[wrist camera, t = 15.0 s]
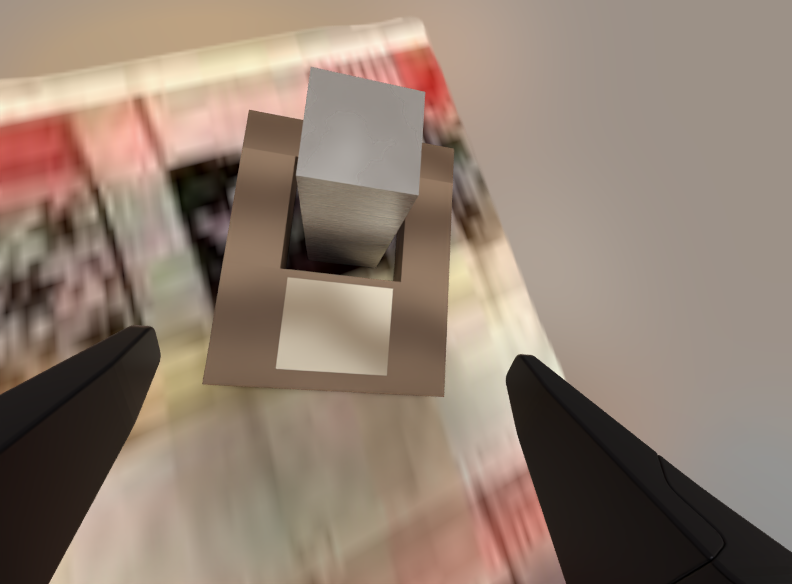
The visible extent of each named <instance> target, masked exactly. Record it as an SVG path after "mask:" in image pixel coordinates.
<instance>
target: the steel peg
mask: <svg viewBox="0 0 792 584" xmlns="http://www.w3.org/2000/svg"><path fill="white" fill-rule="evenodd" d="M424 102H425V92H423V91H418V90H414V89H409V88H405V87H400V86H396V85H391V84H386V83H382V82H377V81H373V80H368V79H364V78H359V77H355V76H350V75H346V74H341V73H337V72H332V71H328V70H323V69H319V68H314V67H311V70H310V77H309V84H308V91H307V99H306V106H305V113H304V120H303V127H302V135H301V142H300V149H299V156H298V164H297V171H296V179H297V186H298V193H299V200H300V207H301V214H302V220H303V227H304V234H305V241H306V248H307V255H308V260H312V261H321V262H329V263H337V264H345V265H354V266H362V267H370V268H376V266H377V265H378V263H379V261H380V260H381V258H382V256H383V255H384V253H385V251H386V250H387V248H388V246H389V244H390V243H391V241H392V239H393V238H394V236H395V234H396V233H397V231H398V229H399V228H400V226H401V224H402V223H403V221H404V219H405V218H406V216H407V214H408V213H409V211H410V209H411V207H412V206H413V204H414V202H415V201H416V199H417V197H418V196H419V182H420V166H421V150H422V134H423V118H424Z"/></svg>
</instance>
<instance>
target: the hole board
mask: <svg viewBox="0 0 792 584" xmlns="http://www.w3.org/2000/svg"><path fill="white" fill-rule="evenodd" d="M302 127H303V120H300V119H295V118H289V117H284V116H279V115H274V114H268V113H263V112H258V111H253V110H249V113H248V119H247V125H246V131H245V137H244V142H243V148H242V154H241V160H240V166H239V172H238V178H237V183H236V189H235V195H234V201H233V207H232V213H231V219H230V225H229V230H228V236H227V242H226V248H225V254H224V260H223V266H222V272H221V277H220V283H219V289H218V295H217V301H216V307H215V313H214V318H213V324H212V330H211V336H210V342H209V348H208V354H207V360H206V365H205V371H204V377H203V383H202V384H207V385H226V386H245V387H264V388H284V389H303V390H322V391H341V392H361V393H380V394H399V395H418V396H438V397H444V387H445V362H446V337H447V312H448V287H449V261H450V236H451V211H452V186H453V161H454V149H452V148H446V147H441V146H436V145H431V144H426V143H422V150H421V166H420V182H419V196H418V197H417V199H416V201H415V202H414V204H413V206H412V207H411V209H410V211H409V213H408V214H407V216H406V218H405V219H404V221H403V223H402V224H401V226H400V228H399V229H398V231H397V240H396V254H395V268H394V281H386V280H377V279H369V278H360V277H351V276H342V275H333V274H324V273H316V272H307V271H298V270H289V269H286V264H287V256H288V249H289V241H290V234H291V226H292V219H293V211H294V204H295V196H296V189H297V179H296V171H297V164H298V156H299V149H300V142H301V135H302Z"/></svg>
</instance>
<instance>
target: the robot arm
mask: <svg viewBox="0 0 792 584" xmlns="http://www.w3.org/2000/svg"><path fill="white" fill-rule="evenodd" d="M160 357H161V353H160V349H159V344H158V340H157V336H156V332H155V330H154V328H152V327H150V326H138V325H132V326H129V327H127V328H125V329H123V330H121V331H120V332H118V333H116V334H114V335H112V336H110V337H108V338H106V339H104V340H103V341H101V342H99V343H97V344H95V345H93V346H91V347H89V348H87V349H86V350H84V351H82V352H80V353H78V354H76V355H74V356H72V357H70V358H69V359H67V360H65V361H63V362H61V363H59V364H57V365H55V366H53V367H52V368H50V369H48V370H46V371H44V372H42V373H40V374H38V375H36V376H35V377H33V378H31V379H29V380H27V381H25V382H23V383H21V384H19V385H18V386H16V387H14V388H12V389H10V390H8V391H6V392H4V393H3V394H1V395H0V584H49V582H50V580H51V579H52V577H53V575H54V573H55V571H56V569H57V567H58V566H59V564H60V562H61V560H62V558H63V556H64V554H65V553H66V551H67V549H68V547H69V545H70V543H71V542H72V540H73V538H74V536H75V534H76V532H77V530H78V529H79V527H80V525H81V523H82V521H83V519H84V517H85V516H86V514H87V512H88V510H89V508H90V506H91V504H92V503H93V501H94V499H95V497H96V495H97V493H98V491H99V490H100V488H101V486H102V484H103V482H104V480H105V479H106V477H107V475H108V473H109V471H110V469H111V467H112V466H113V464H114V462H115V460H116V458H117V456H118V454H119V453H120V451H121V449H122V447H123V445H124V443H125V441H126V440H127V438H128V436H129V434H130V432H131V430H132V428H133V426H134V424H135V422H136V420H137V417H138V415H139V413H140V410H141V408H142V405H143V403H144V400H145V398H146V395H147V392H148V390H149V387H150V385H151V382H152V380H153V377H154V375H155V372H156V370H157V367H158V365H159V362H160ZM506 386H507V390H508V395H509V400H510V404H511V409H512V413H513V418H514V422H515V427H516V431H517V435H518V438H519V442H520V445H521V448H522V451H523V454H524V457H525V460H526V463H527V466H528V469H529V472H530V475H531V478H532V481H533V484H534V487H535V490H536V494H537V497H538V500H539V503H540V506H541V509H542V512H543V515H544V518H545V521H546V524H547V527H548V530H549V533H550V536H551V539H552V542H553V545H554V548H555V551H556V554H557V557H558V560H559V563H560V567H561V570H562V573H563V576H564V579H565V582H566V584H792V552H791V551H789V550H788V549H786V548H785V547H784V546H782V545H781V544H779V543H778V542H777V541H775V540H774V539H772V538H771V537H769V536H768V535H767V534H765V533H764V532H763V531H761V530H760V529H758V528H757V527H756V526H754V525H753V524H751V523H750V522H749V521H747V520H746V519H744V518H743V517H742V516H740V515H738V514H737V513H736V512H734V511H733V510H732V509H730V508H729V507H727V506H726V505H725V504H723V503H722V502H721V501H719V500H718V499H717V498H715V497H714V496H712V495H711V494H710V493H708V492H707V491H706V490H704V489H703V488H701V487H700V486H699V485H697V484H696V483H695V482H694V481H692V480H691V479H690V478H688V477H687V476H686V475H684V474H683V473H682V472H681V471H679V470H678V469H677V468H675V467H674V466H673V465H672V464H670V463H669V462H668V461H666V460H665V459H664V458H663V457H662V456H660V455H657V453H656V452H655V451H654V450H652V449H651V448H650V447H649V446H647V445H646V444H645V443H644V442H642V441H641V440H640V439H639V438H637V437H636V436H635V435H634V434H632V433H631V432H630V431H628V430H627V429H626V428H625V427H623V426H622V425H621V424H620V423H618V422H617V421H616V420H614V419H613V418H612V417H611V416H609V415H608V414H607V413H606V412H604V411H603V410H602V409H600V408H599V407H598V406H597V405H595V404H594V403H593V402H592V401H590V400H589V399H588V398H587V397H585V396H584V395H583V394H582V393H580V392H579V391H578V390H576V389H575V388H574V387H573V386H571V385H570V384H569V383H568V382H566V381H565V380H564V379H563V378H561V377H560V376H559V375H557V374H556V373H555V372H554V371H552V370H551V369H550V368H549V367H547V366H546V365H545V364H544V363H542V362H541V361H540V360H538V359H537V358H536V357H535V356H533V355H524V354H519V355H517V356H516V357H515V359H514V361H513V363H512V365H511V367H510V369H509V371H508V373H507V375H506Z"/></svg>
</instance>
